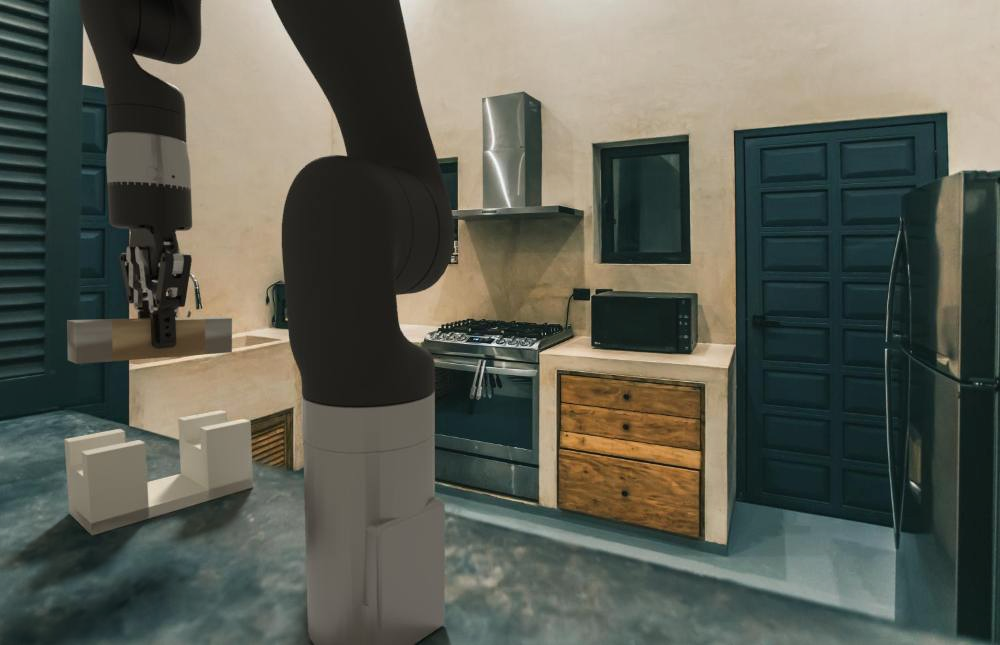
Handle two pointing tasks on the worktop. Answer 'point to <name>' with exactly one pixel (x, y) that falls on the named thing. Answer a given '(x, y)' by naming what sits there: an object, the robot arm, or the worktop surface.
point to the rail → (144, 339)
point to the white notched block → (130, 498)
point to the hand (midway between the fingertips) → (157, 345)
